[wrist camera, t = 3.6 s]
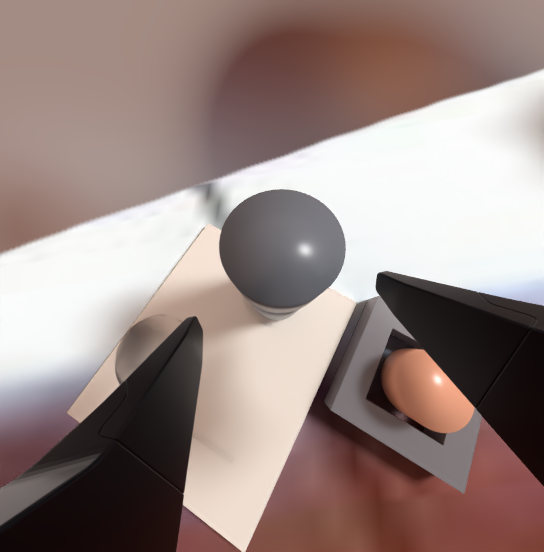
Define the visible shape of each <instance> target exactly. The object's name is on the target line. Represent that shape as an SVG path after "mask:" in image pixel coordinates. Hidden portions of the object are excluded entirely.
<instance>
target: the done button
mask: <svg viewBox="0 0 544 552" xmlns="http://www.w3.org/2000/svg"><path fill="white" fill-rule="evenodd" d="M381 383H382V387H383V390H384V392H385V395H386V396H387V398H388V400H389V401H390V402H391V404H392V405H393V406H394V407H395V408H396V409H397V410H399V411H400V412H402V413H403V414H405V415H407V416H408V417H410V418H411V419H413V420H415V421H416V422H418V423H420V424H421V425H423V426H424V427H426V428H428V429H430V430H432V431H435V432H439V433H452V432H456V431H458V430H460V429H462V428H463V427H465V426H466V425H467V424H468V422H469V421H470V419H471V417H472V415H473V412H474V408H475V407H474V406H473V405H472V404H471V403H470V402H469V401H468V399H467V398H466V397H465V396H464V395H463V394H462V393H461V391H460V390H459V389H458V388H457V387H456V386H455V385H454V383H453V382H452V381H451V380H450V379H449V378H448V377H447V375H446V374H445V373H444V372H443V371H442V370H441V369H440V367H439V366H438V365H437V364H436V363H435V362H434V361H433V360H432V358H431V357H430V356H429V355H428V354H427V353H426V352H425V350H421V349H412V348H402V349H398V350H395V351H394V352H392V353H391V354H390V355H389V356H388V357H387V358H386V359H385V361H384V363H383V366H382V370H381Z"/></svg>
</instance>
